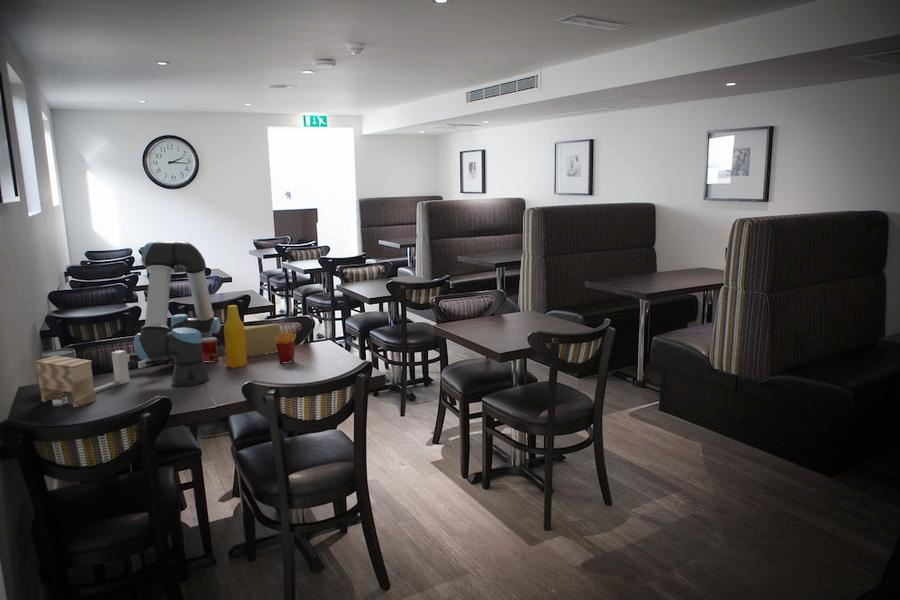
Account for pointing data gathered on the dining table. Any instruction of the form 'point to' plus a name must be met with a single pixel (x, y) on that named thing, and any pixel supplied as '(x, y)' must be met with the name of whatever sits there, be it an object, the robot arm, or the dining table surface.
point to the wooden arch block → (117, 370)
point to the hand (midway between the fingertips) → (127, 363)
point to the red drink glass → (210, 349)
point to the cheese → (261, 339)
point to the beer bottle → (234, 339)
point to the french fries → (285, 347)
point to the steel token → (59, 401)
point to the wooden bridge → (66, 379)
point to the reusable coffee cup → (60, 353)
